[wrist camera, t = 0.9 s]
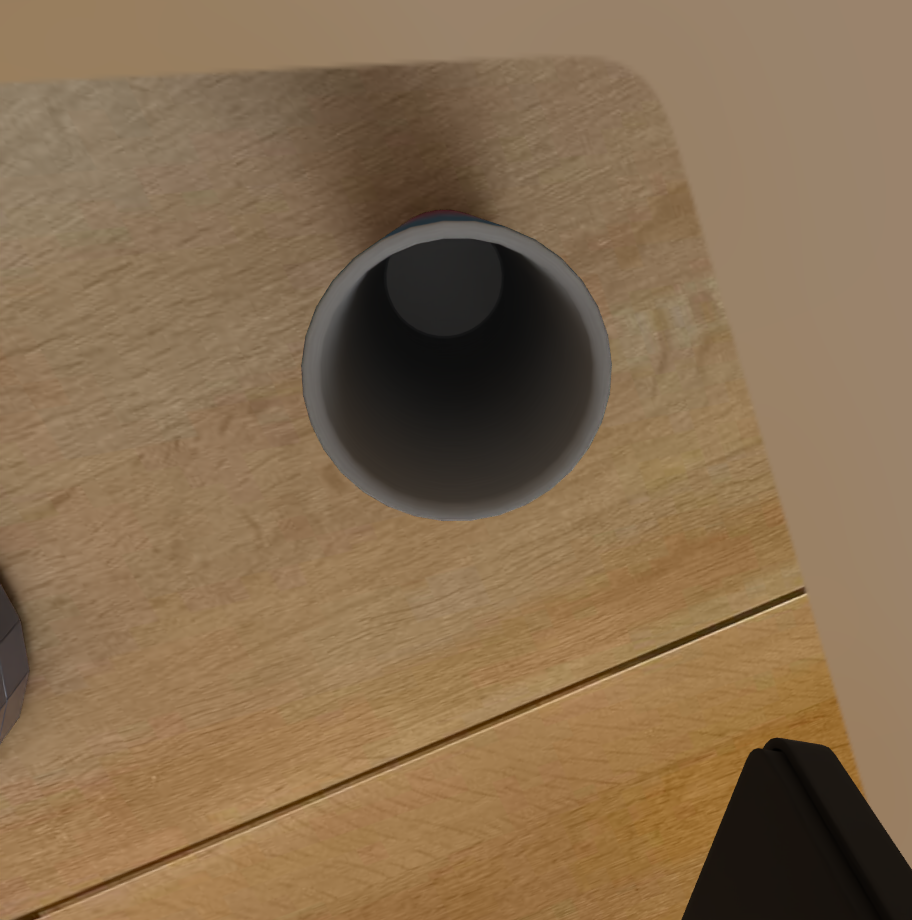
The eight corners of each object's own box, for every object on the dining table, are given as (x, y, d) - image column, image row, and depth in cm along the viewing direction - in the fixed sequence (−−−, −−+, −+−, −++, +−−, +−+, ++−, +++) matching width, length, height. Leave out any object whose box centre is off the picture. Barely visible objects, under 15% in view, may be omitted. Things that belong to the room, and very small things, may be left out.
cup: (537, 355, 34) (616, 507, 20) (367, 372, 34) (325, 535, 20) (526, 175, 32) (607, 204, 17) (343, 193, 32) (276, 237, 17)
